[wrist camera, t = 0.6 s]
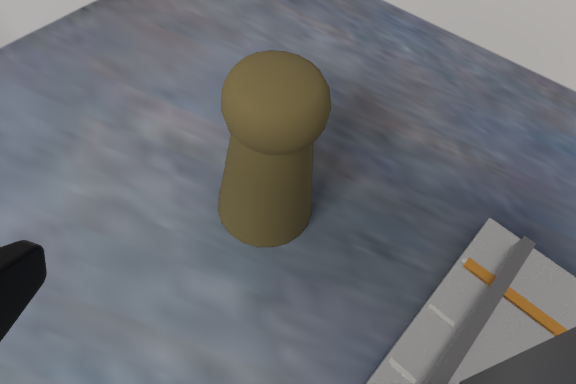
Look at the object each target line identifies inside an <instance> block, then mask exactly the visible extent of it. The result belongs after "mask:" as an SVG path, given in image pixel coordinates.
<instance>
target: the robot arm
mask: <svg viewBox="0 0 576 384" xmlns="http://www.w3.org/2000/svg"><path fill="white" fill-rule="evenodd" d="M46 273H47V272H46V263H45V255H44V249H43V247H42V246H40V245H38V244H35V243H33V242H30V241H27V240H21V241H17V242H14V243H11V244H8V245H6V246H3V247H0V341H1V340H2V339H3V338H4V336H5V335H6V334H7V332H8V331H9V330H10V328H11V327H12V325H13V324H14V323H15V321H16V320H17V319H18V317H19V316H20V314H21V313H22V312H23V310H24V309H25V308H26V306H27V305H28V303H29V302H30V301H31V299H32V298H33V297H34V295H35V294H36V293H37V291H38V290H39V288H40V287H41V286H42V284H43V283H44V281H45V278H46Z"/></svg>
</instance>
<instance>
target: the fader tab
mask: <svg viewBox="0 0 576 384" xmlns="http://www.w3.org/2000/svg"><path fill="white" fill-rule="evenodd" d="M459 384H576V327H574V328H572V329H570V330H567V331H565V332H563V333H561V334H559V335H557V336H555V337H553V338H551V339H549V340H546V341H544V342H542V343H540V344H538V345H536V346H534V347H532V348H530V349H528V350H525V351H523V352H521V353H519V354H517V355H515V356H513V357H511V358H509V359H507V360H504V361H502V362H500V363H498V364H496V365H494V366H492V367H490V368H488V369H486V370H483V371H481V372H479V373H477V374H475V375H473V376H471V377H469V378H467V379H465V380H462V381H460V382H459Z"/></svg>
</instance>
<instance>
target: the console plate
mask: <svg viewBox="0 0 576 384" xmlns="http://www.w3.org/2000/svg"><path fill="white" fill-rule="evenodd" d="M535 245H536V243H535V242H533V241H532V240H530V239H529V238H527V237H526V236H525V235H524V236H523V237H522V238H521V239H520V238H518V237H517V236H516V235H514V234H513V233H511V232H510V231H508V230H507V229H506V228H504V227H503V226H501V225H500V224H498V223H497V222H496V221H494V220H493V219H491V218H489V219H488V220H487V221H486V222H485V223H484V224H483V225H482V227H481V228H480V229H479V231H478V232H477V233H476V235H475V236H474V237H473V239H472V240H471V241H470V243H469V244H468V245H467V247H466V248H465V249H464V251H463V252H462V253H461V255H460V256H459V257H458V259H457V260H456V262H455V263H454V264H453V266H452V267H451V268H450V270H449V271H448V272H447V274H446V275H445V276H444V278H443V279H442V280H441V282H440V283H439V284H438V286H437V287H436V288H435V290H434V291H433V292H432V294H431V295H430V296H429V298H428V299H427V300H426V302H425V303H424V305H423V306H422V307H421V309H420V310H419V311H418V313H417V314H416V315H415V317H414V318H413V319H412V321H411V322H410V323H409V325H408V326H407V327H406V329H405V330H404V331H403V333H402V334H401V335H400V337H399V338H398V339H397V341H396V342H395V343H394V345H393V346H392V348H391V349H390V350H389V352H388V353H387V354H386V356H385V357H384V358H383V360H382V361H381V362H380V364H379V365H378V366H377V368H376V369H375V370H374V372H373V373H372V374H371V376H370V377H369V378H368V380H367V381H366V382H365V384H459V382H460V381H462V380H465V379H467V378H469V377H471V376H473V375H475V374H477V373H479V372H481V371H483V370H486V369H488V368H490V367H492V366H494V365H496V364H498V363H500V362H502V361H504V360H507V359H509V358H511V357H513V356H515V355H517V354H519V353H521V352H523V351H525V350H528V349H530V348H532V347H534V346H536V345H538V344H540V343H542V342H544V341H546V340H549V339H551V338H553V337H555V336H557V335H559V334H561V333H563V332H565V331H567V330H570V329H572V328H574V327H576V277H574V276H573V275H572V274H570V273H569V272H567V271H566V270H564V269H563V268H562V267H560V266H559V265H557V264H556V263H554V262H553V261H551V260H550V259H549V258H547V257H546V256H544V255H543V254H541V253H540V252H539V251H537V250H536V249H534V246H535Z"/></svg>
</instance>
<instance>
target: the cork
mask: <svg viewBox="0 0 576 384" xmlns="http://www.w3.org/2000/svg"><path fill="white" fill-rule="evenodd" d="M330 110H331V99H330V91H329V86H328V84H327V82H326V80H325V79H324V77H323V75H322V73H321V72H320V70H319V69H318V68H317V67H316V66H315V65H314V64H313V63H312V62H310V61H309V60H307V59H305V58H303V57H301V56H299V55H296V54H293V53H289V52H286V51H273V50H269V51H263V52H256V53H254V54H252V55H249V56H247V57H245V58H243V59H242V60H241V61H240V62H238V63H237V64H236V65H235V66H234V67H233V68H232V69H231V70H230V72H229V74H228V76H227V78H226V79H225V81H224V84H223V88H222V95H221V111H222V114H223V116H224V119H225V122H226V124H227V127H228V129H229V132H230V133H231V137H230V142H229V147H228V152H227V158H226V163H225V168H224V173H223V179H222V184H221V189H220V194H219V203H218V212H219V216H220V219H221V222H222V224H223V225H224V227H225V228H226V229H227V230H228V232H229V233H230V234H231V235H232V236H234V237H235V238H237V239H238V240H240V241H241V242H243V243H246V244H249V245H252V246H256V247H276V246H279V245H283V244H286V243H288V242H290V241H292V240H293V239H295V238H296V237H298V236H299V235H300V234H301V232H302V231H303V230H304V229H305V227H306V226H307V224H308V221H309V218H310V214H311V194H312V161H313V142H314V141H315V140H316V139H317V138H318V137H319V136H320V134H321V133H322V131H323V130H324V128H325V126H326V123H327V120H328V117H329V113H330Z"/></svg>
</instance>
